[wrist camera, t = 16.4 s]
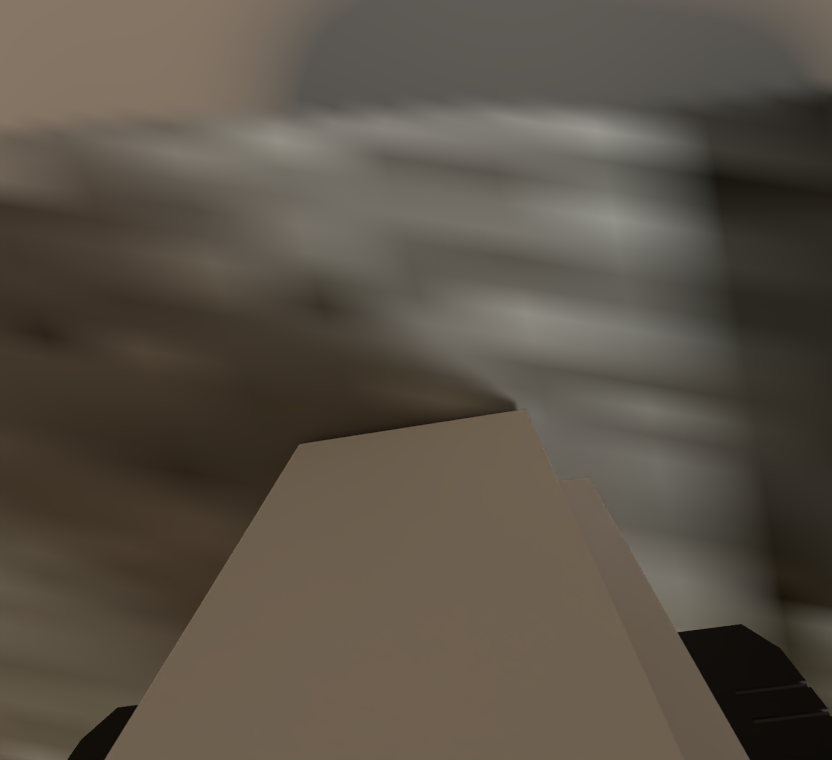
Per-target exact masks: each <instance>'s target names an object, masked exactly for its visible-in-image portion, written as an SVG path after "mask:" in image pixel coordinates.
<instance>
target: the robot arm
mask: <svg viewBox="0 0 832 760" xmlns="http://www.w3.org/2000/svg"><path fill="white" fill-rule="evenodd" d="M559 484H560V486H561V488H562V490H563V492H564V495H565V497H566V499H567V501H568V504H569V506H570V508H571V510H572V512H573V515H574V517H575V519H576V521H577V523H578V526H579V528H580V530H581V532H582V535H583V537H584V539H585V541H586V543H587V546H588V548H589V550H590V552H591V555H592V557H593V559H594V561H595V563H596V566H597V568H598V570H599V572H600V575H601V577H602V579H603V581H604V583H605V586H606V588H607V590H608V592H609V594H610V597H611V599H612V601H613V603H614V606H615V608H616V610H617V612H618V614H619V617H620V619H621V621H622V623H623V626H624V628H625V630H626V632H627V634H628V637H629V639H630V641H631V643H632V645H633V648H634V650H635V652H636V654H637V657H638V659H639V661H640V663H641V665H642V668H643V670H644V672H645V674H646V677H647V679H648V681H649V683H650V685H651V688H652V690H653V692H654V694H655V697H656V699H657V701H658V703H659V705H660V708H661V710H662V712H663V714H664V716H665V719H666V721H667V723H668V725H669V728H670V730H671V732H672V734H673V736H674V739H675V741H676V743H677V745H678V748H679V750H680V752H681V754H682V756H683V759H684V760H832V716H830V715H829V712H828V708H827V707H826V706H825V704H824V703H823V702H822V701H821V699H820V698H819V697H818V696H817V694H816V693H815V692H814V691H813V689H812V688H811V687H809V688H808V687H807V684H806V680H805V679H804V678H803V677H802V675H801V674H800V673H799V671H798V670H797V669H796V668H795V666H794V665H793V664H792V663H791V661H790V660H789V659H788V657H787V656H786V655H785V654H784V652H783V651H782V650H781V649H780V648H779V647H777V646H776V645H774V644H772V643H771V642H769V641H768V640H766V639H764V638H763V637H761V636H760V635H758V634H756V633H755V632H753V631H752V630H750V629H748V628H747V627H745V626H743V625H742V624H739V625H731V626H723V627H716V628H708V629H700V630H692V631H684V632H677V631H676V629H675V627H674V626H673V624H672V622H671V620H670V619H669V617H668V615H667V613H666V612H665V610H664V608H663V606H662V605H661V603H660V601H659V599H658V598H657V596H656V594H655V592H654V591H653V589H652V587H651V585H650V584H649V582H648V580H647V578H646V577H645V575H644V573H643V571H642V570H641V568H640V566H639V564H638V563H637V561H636V559H635V557H634V556H633V554H632V552H631V550H630V549H629V547H628V545H627V543H626V542H625V540H624V538H623V536H622V534H621V533H620V531H619V529H618V527H617V526H616V524H615V522H614V520H613V519H612V517H611V515H610V513H609V512H608V510H607V508H606V506H605V505H604V503H603V501H602V499H601V498H600V496H599V494H598V492H597V491H596V489H595V487H594V485H593V484H592V482H591V480H590V478H589V477H584V478H578V479H571V480H564V481H559ZM137 706H138V705H134V706H126V707H118V708H117V709H116V710H114V711H113V712H112V713H111V714H110V715H109V716H108V717H106V718H105V719H104V720H103V721H102V722H101V723H100V724H98V725H97V726H96V727H95V728H94V729H93V730H92V731H90V732H89V733H88V734H87V735H86V736H85V737H84V738H83V739H81V741H80V742H79V744H78V745H77V747H76V748H75V749H74V751H73V752H72V754H71V755H70V757H69V758H68V760H105V758H106V757H107V755H108V753H109V752H110V750H111V749H112V747H113V745H114V744H115V742H116V740H117V739H118V737H119V736H120V734H121V732H122V731H123V729H124V727H125V726H126V724H127V723H128V721H129V719H130V718H131V716H132V715H133V713H134V711H135V710H136V708H137Z"/></svg>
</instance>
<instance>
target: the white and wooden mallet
mask: <svg viewBox="0 0 832 760" xmlns="http://www.w3.org/2000/svg"><path fill="white" fill-rule="evenodd" d="M105 760H684V759H683V756H682V754H681V752H680V750H679V748H678V745H677V743H676V741H675V739H674V736H673V734H672V732H671V730H670V728H669V725H668V723H667V721H666V719H665V716H664V714H663V712H662V710H661V708H660V705H659V703H658V701H657V699H656V697H655V694H654V692H653V690H652V688H651V685H650V683H649V681H648V679H647V677H646V674H645V672H644V670H643V668H642V665H641V663H640V661H639V659H638V657H637V654H636V652H635V650H634V648H633V645H632V643H631V641H630V639H629V637H628V634H627V632H626V630H625V628H624V626H623V623H622V621H621V619H620V617H619V614H618V612H617V610H616V608H615V606H614V603H613V601H612V599H611V597H610V594H609V592H608V590H607V588H606V586H605V583H604V581H603V579H602V577H601V575H600V572H599V570H598V568H597V566H596V563H595V561H594V559H593V557H592V555H591V552H590V550H589V548H588V546H587V543H586V541H585V539H584V537H583V535H582V532H581V530H580V528H579V526H578V523H577V521H576V519H575V517H574V515H573V512H572V510H571V508H570V506H569V504H568V501H567V499H566V497H565V495H564V492H563V490H562V488H561V486H560V484H559V481H558V479H557V477H556V475H555V472H554V470H553V468H552V466H551V464H550V461H549V459H548V457H547V455H546V452H545V450H544V448H543V446H542V444H541V441H540V439H539V437H538V435H537V433H536V430H535V428H534V426H533V424H532V421H531V419H530V417H529V415H528V413H527V410H526V409H523V410H516V411H510V412H503V413H497V414H490V415H484V416H478V417H471V418H465V419H458V420H452V421H445V422H439V423H433V424H426V425H420V426H413V427H407V428H401V429H394V430H388V431H381V432H375V433H368V434H362V435H356V436H349V437H343V438H336V439H330V440H323V441H317V442H311V443H304V444H299V445H298V447H297V449H296V450H295V452H294V454H293V455H292V457H291V458H290V460H289V462H288V463H287V465H286V467H285V468H284V470H283V471H282V473H281V475H280V476H279V478H278V480H277V481H276V483H275V484H274V486H273V488H272V489H271V491H270V492H269V494H268V496H267V497H266V499H265V501H264V502H263V504H262V505H261V507H260V509H259V510H258V512H257V514H256V515H255V517H254V518H253V520H252V522H251V523H250V525H249V527H248V528H247V530H246V531H245V533H244V535H243V536H242V538H241V539H240V541H239V543H238V544H237V546H236V548H235V549H234V551H233V552H232V554H231V556H230V557H229V559H228V561H227V562H226V564H225V565H224V567H223V569H222V570H221V572H220V574H219V575H218V577H217V578H216V580H215V582H214V583H213V585H212V586H211V588H210V590H209V591H208V593H207V595H206V596H205V598H204V599H203V601H202V603H201V604H200V606H199V608H198V609H197V611H196V612H195V614H194V616H193V617H192V619H191V621H190V622H189V624H188V625H187V627H186V629H185V630H184V632H183V633H182V635H181V637H180V638H179V640H178V642H177V643H176V645H175V646H174V648H173V650H172V651H171V653H170V655H169V656H168V658H167V659H166V661H165V663H164V664H163V666H162V668H161V669H160V671H159V672H158V674H157V676H156V677H155V679H154V680H153V682H152V684H151V685H150V687H149V689H148V690H147V692H146V693H145V695H144V697H143V698H142V700H141V702H140V703H139V705H138V706H137V708H136V710H135V711H134V713H133V715H132V716H131V718H130V719H129V721H128V723H127V724H126V726H125V727H124V729H123V731H122V732H121V734H120V736H119V737H118V739H117V740H116V742H115V744H114V745H113V747H112V749H111V750H110V752H109V753H108V755H107V757H106V758H105Z"/></svg>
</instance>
